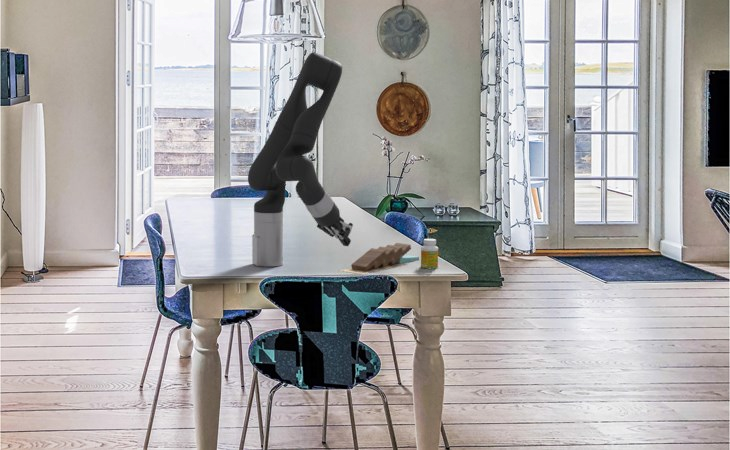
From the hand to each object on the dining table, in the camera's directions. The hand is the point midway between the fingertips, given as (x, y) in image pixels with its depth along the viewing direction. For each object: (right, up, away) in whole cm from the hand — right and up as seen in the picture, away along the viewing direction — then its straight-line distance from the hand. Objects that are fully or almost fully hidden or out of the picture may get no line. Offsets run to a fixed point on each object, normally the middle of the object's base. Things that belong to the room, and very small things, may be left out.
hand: (347, 243), depth 257 cm
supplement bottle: (+26, -9, +13) cm, 30 cm away
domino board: (+8, -8, +12) cm, 17 cm away
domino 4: (+12, -6, +16) cm, 21 cm away
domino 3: (+9, -7, +12) cm, 17 cm away
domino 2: (+6, -7, +9) cm, 13 cm away
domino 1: (+3, -8, +6) cm, 10 cm away
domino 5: (+14, -6, +19) cm, 25 cm away
